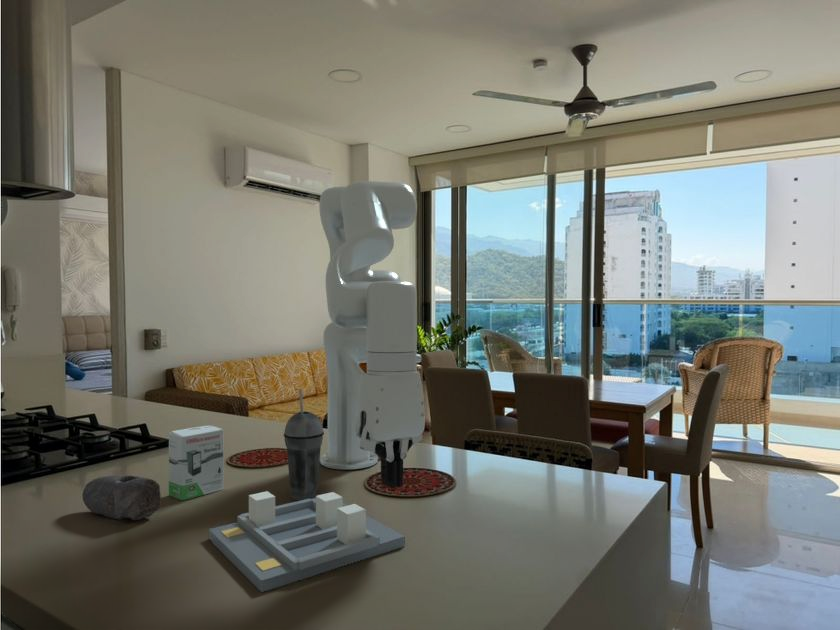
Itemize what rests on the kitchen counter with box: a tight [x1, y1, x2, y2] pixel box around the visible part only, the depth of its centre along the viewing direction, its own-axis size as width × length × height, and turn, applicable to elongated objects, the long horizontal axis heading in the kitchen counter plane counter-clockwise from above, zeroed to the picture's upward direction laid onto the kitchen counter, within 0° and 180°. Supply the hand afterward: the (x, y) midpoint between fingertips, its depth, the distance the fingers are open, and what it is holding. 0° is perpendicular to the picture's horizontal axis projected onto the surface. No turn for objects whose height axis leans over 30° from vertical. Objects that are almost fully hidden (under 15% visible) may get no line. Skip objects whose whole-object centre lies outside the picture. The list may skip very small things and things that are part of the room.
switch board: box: [208, 498, 406, 593], centre depth 87 cm, size 22×21×2 cm
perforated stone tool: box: [81, 475, 162, 521], centre depth 97 cm, size 15×5×7 cm, turn 68°
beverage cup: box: [283, 388, 325, 501], centre depth 106 cm, size 7×7×20 cm
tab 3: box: [337, 503, 367, 544], centre depth 84 cm, size 3×3×4 cm
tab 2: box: [315, 491, 344, 529], centre depth 89 cm, size 3×3×4 cm
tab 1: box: [248, 490, 276, 527], centre depth 89 cm, size 3×3×4 cm
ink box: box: [168, 425, 224, 501], centre depth 108 cm, size 9×5×12 cm, turn 140°
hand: (392, 485), depth 87 cm, fingers closed
